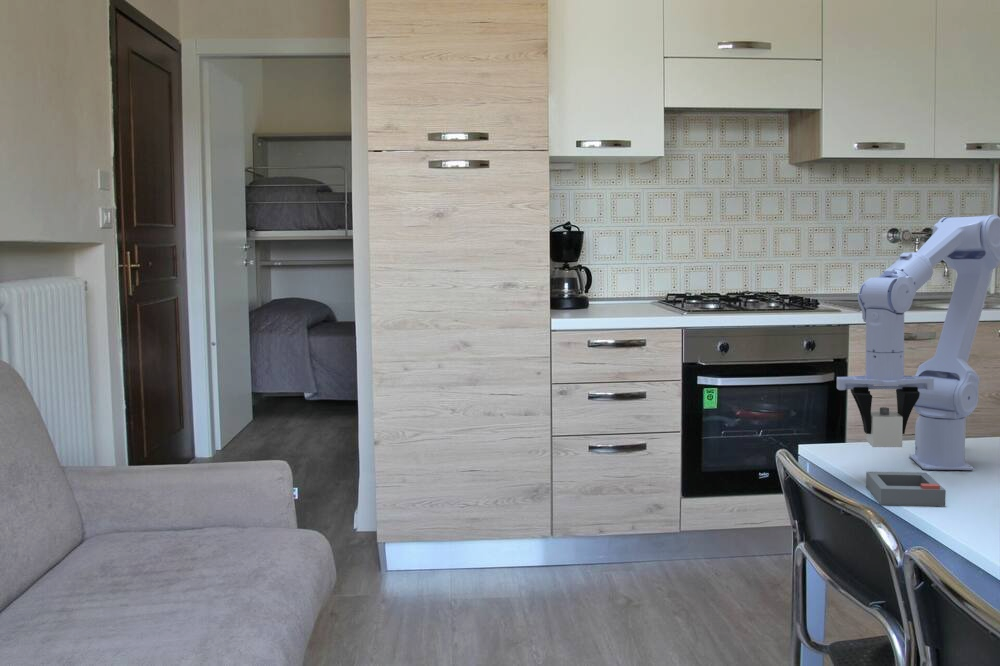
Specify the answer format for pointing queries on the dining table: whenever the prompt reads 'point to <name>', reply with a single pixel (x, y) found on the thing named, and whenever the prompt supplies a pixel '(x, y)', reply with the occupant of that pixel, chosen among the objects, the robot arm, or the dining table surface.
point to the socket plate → (905, 489)
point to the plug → (885, 428)
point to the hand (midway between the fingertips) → (884, 432)
